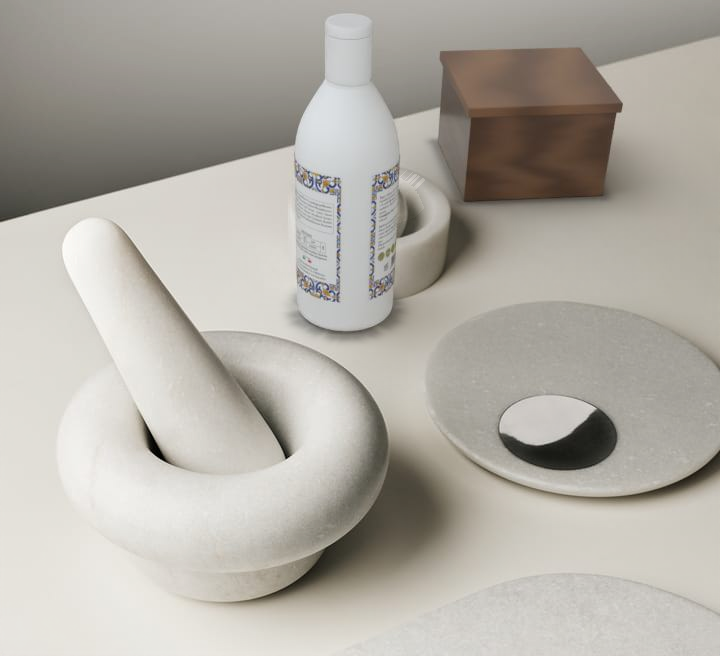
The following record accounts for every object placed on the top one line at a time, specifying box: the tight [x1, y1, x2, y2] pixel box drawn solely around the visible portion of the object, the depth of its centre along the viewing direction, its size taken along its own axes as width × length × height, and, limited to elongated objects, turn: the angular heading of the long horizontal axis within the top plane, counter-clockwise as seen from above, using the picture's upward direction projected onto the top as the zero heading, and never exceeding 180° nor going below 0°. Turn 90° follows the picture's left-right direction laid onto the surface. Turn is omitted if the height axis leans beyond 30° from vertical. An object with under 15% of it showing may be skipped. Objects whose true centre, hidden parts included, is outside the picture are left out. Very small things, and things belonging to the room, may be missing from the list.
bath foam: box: [293, 12, 401, 332], centre depth 76 cm, size 7×7×20 cm
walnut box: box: [437, 46, 624, 202], centre depth 98 cm, size 13×13×8 cm
